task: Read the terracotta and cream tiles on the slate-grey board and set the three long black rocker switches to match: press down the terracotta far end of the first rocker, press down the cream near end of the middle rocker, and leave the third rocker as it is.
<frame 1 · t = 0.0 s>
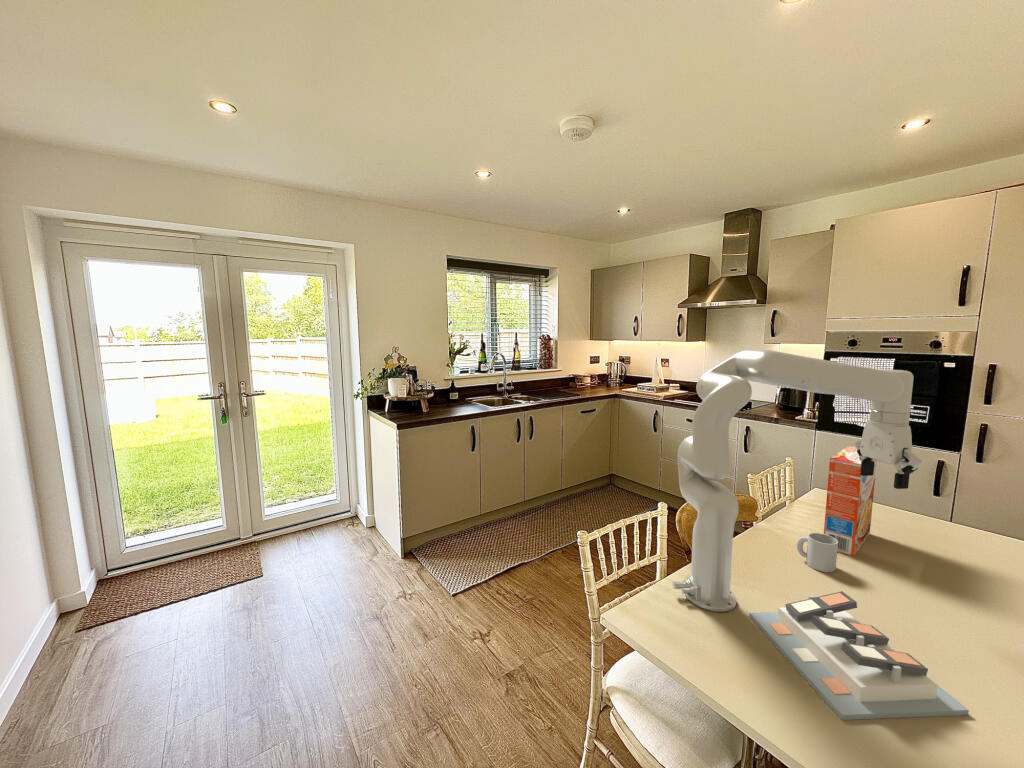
hand: (882, 481, 109), 31 cm above the table, tool pointing down, fingers open, 9 cm apart
rocker b: (849, 629, 89), point 7 cm above the table, hinge at 12.0°
rocker c: (883, 658, 81), point 7 cm above the table, hinge at 12.0°
orange cereal box: (846, 540, 141), on the table
rocker a: (820, 605, 97), point 7 cm above the table, hinge at -12.0°
cup: (815, 565, 126), on the table
switch unit: (846, 658, 90), on the table
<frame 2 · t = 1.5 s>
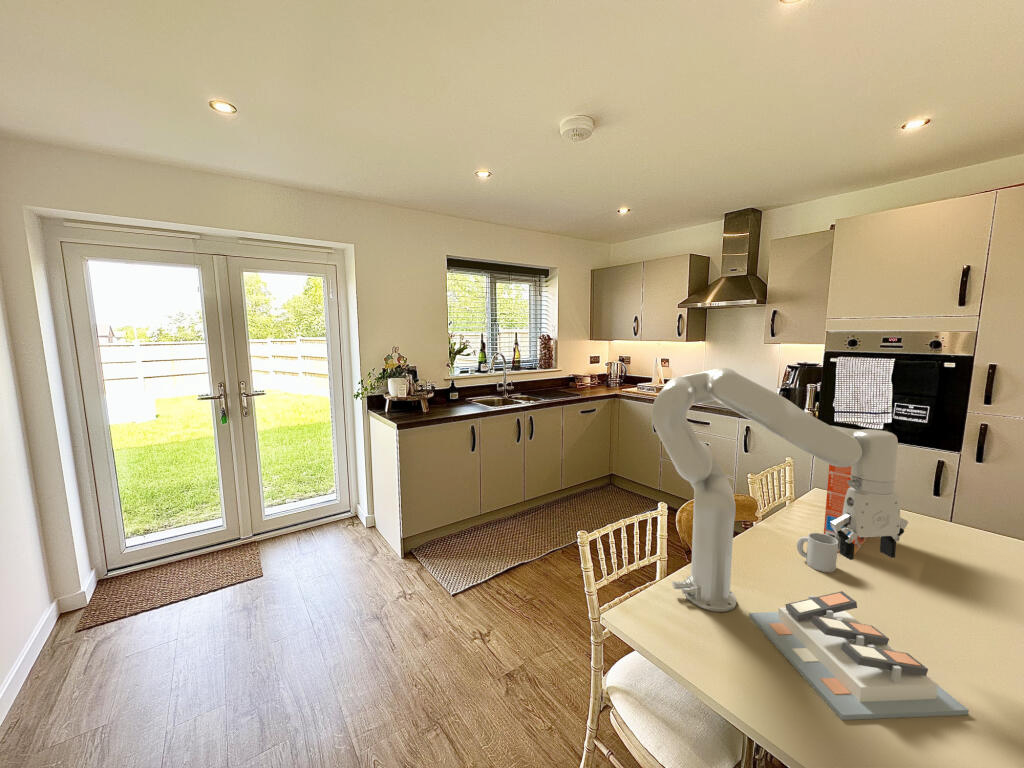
hand: (866, 555, 96), 19 cm above the table, tool pointing down, fingers open, 9 cm apart
nothing on the table moved.
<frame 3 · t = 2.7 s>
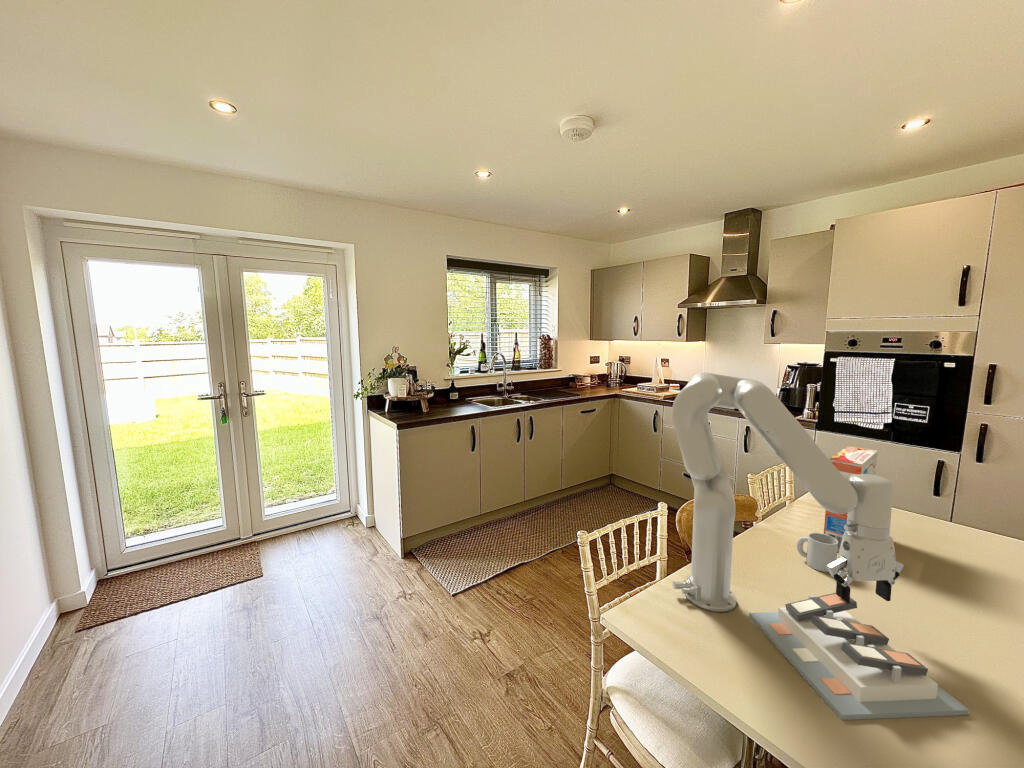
hand: (862, 598, 97), 8 cm above the table, tool pointing down, fingers open, 9 cm apart
rocker a: (820, 605, 97), point 7 cm above the table, hinge at -11.8°, touching gripper
everything else where it was.
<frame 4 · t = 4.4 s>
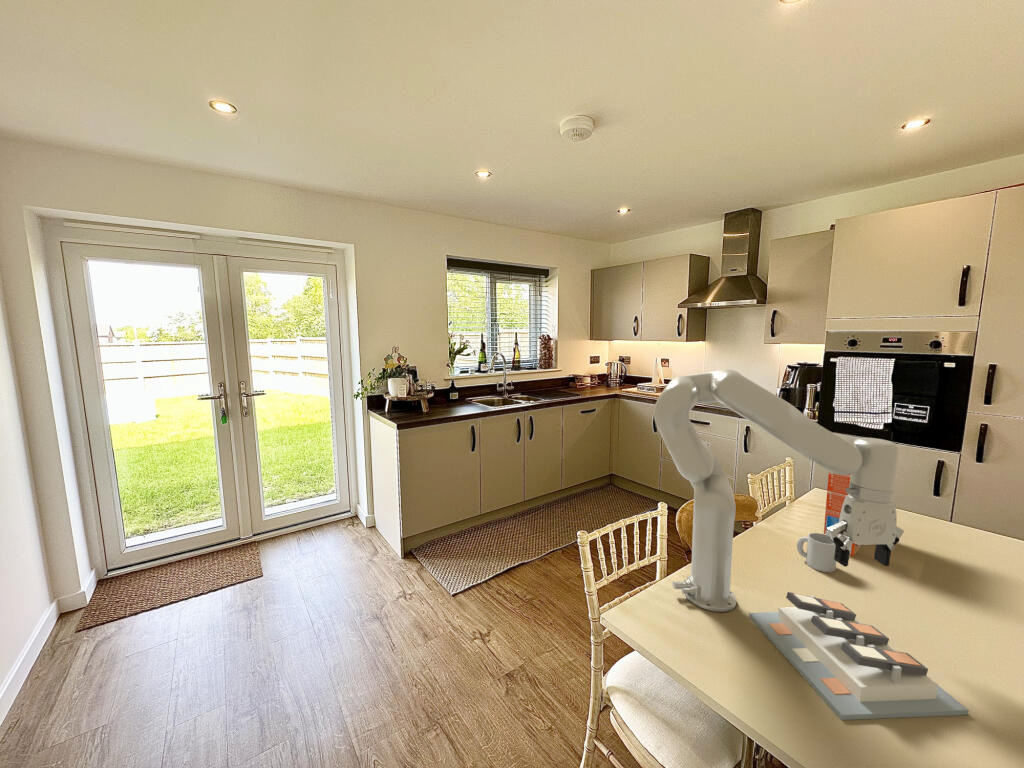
hand: (861, 563, 96), 17 cm above the table, tool pointing down, fingers open, 9 cm apart
rocker a: (820, 605, 97), point 7 cm above the table, hinge at 14.3°
everything else where it was.
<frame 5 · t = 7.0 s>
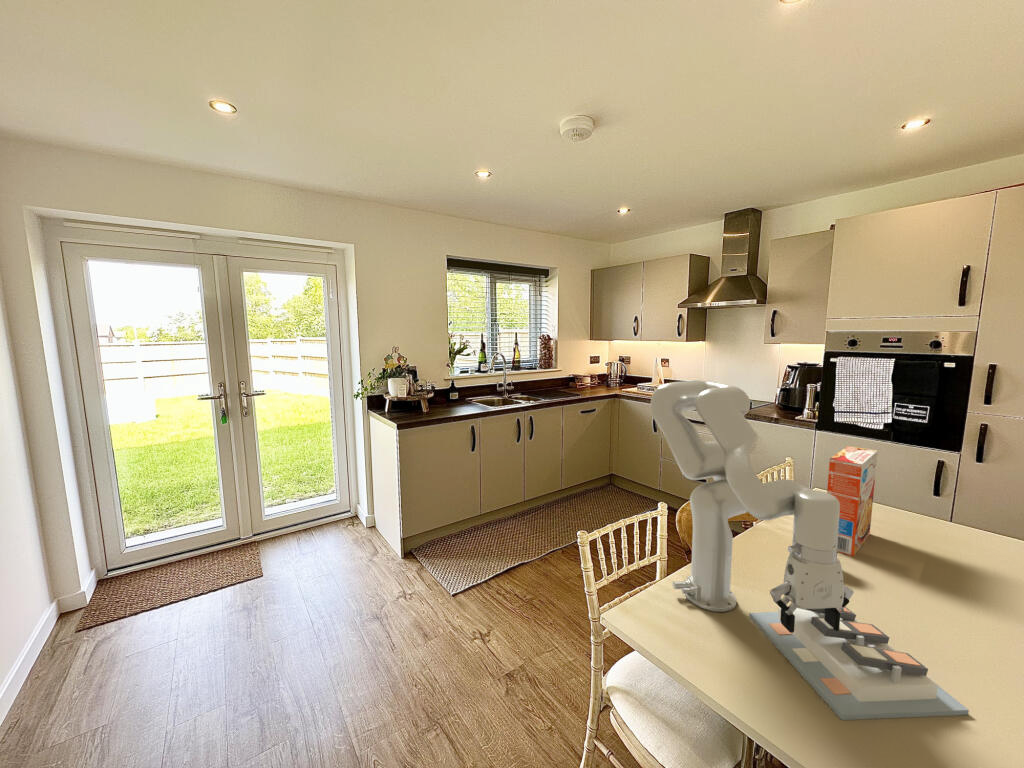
hand: (809, 627, 88), 8 cm above the table, tool pointing down, fingers open, 9 cm apart
rocker b: (849, 629, 89), point 7 cm above the table, hinge at 9.4°, touching gripper
rocker a: (820, 605, 97), point 7 cm above the table, hinge at 15.2°
everything else where it was.
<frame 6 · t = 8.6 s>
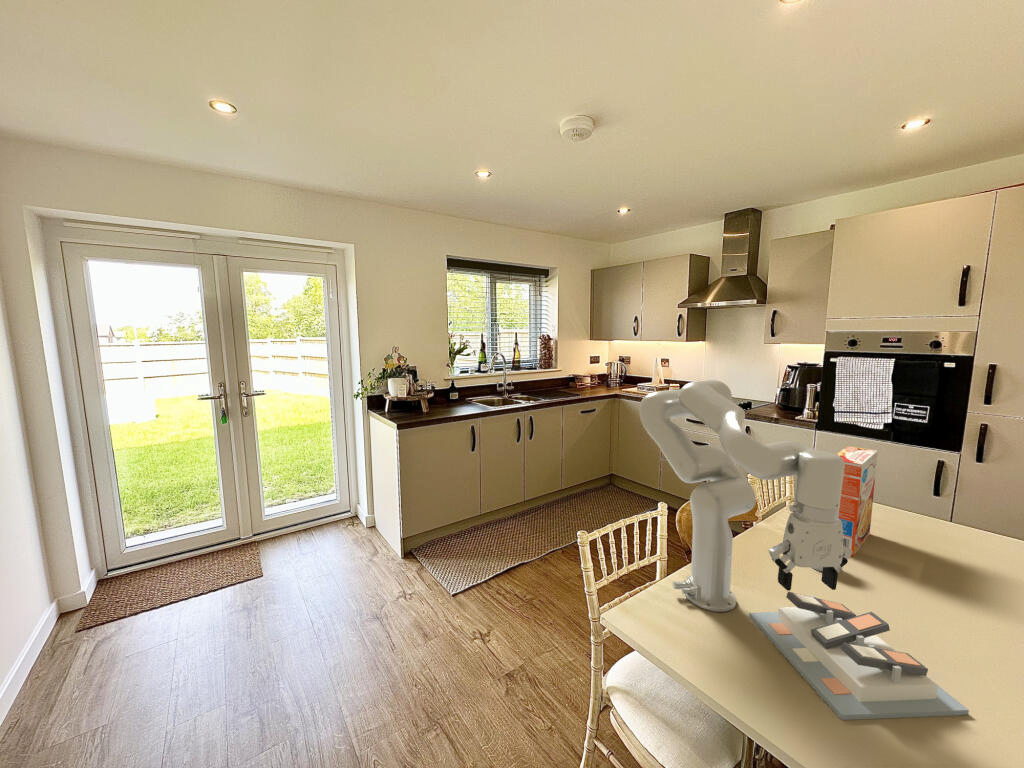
hand: (806, 586, 88), 17 cm above the table, tool pointing down, fingers open, 9 cm apart
rocker b: (849, 629, 89), point 7 cm above the table, hinge at -15.8°, touching switch unit
everything else where it was.
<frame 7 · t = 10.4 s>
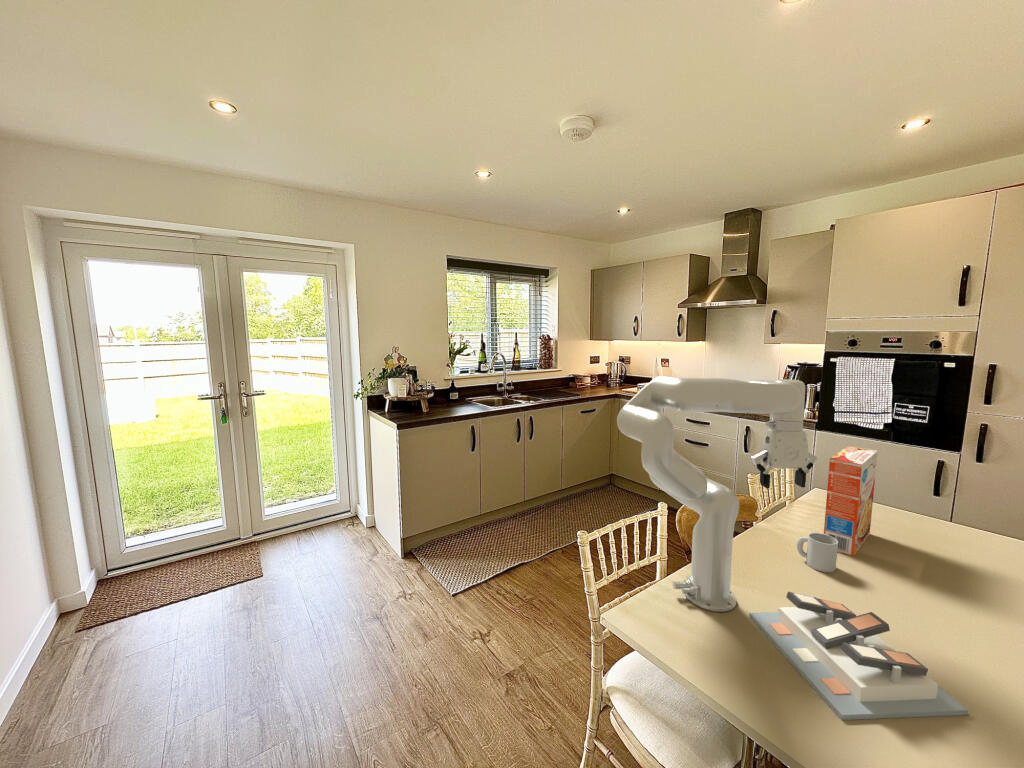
hand: (782, 486, 114), 28 cm above the table, tool pointing down, fingers open, 9 cm apart
rocker b: (849, 629, 89), point 7 cm above the table, hinge at -15.5°
everything else where it was.
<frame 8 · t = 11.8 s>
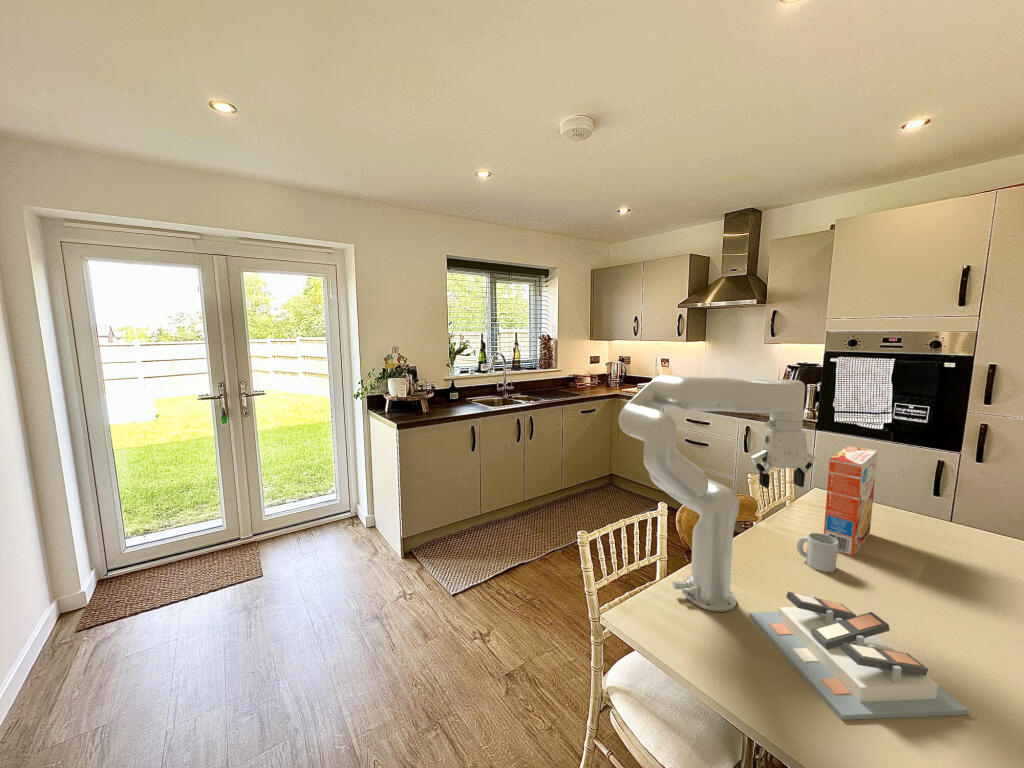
hand: (781, 485, 114), 28 cm above the table, tool pointing down, fingers open, 9 cm apart
nothing on the table moved.
at the end: rocker a at +15° (first picture: -12°); rocker b at -16° (first picture: +12°); rocker c at +12° (first picture: +12°) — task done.
